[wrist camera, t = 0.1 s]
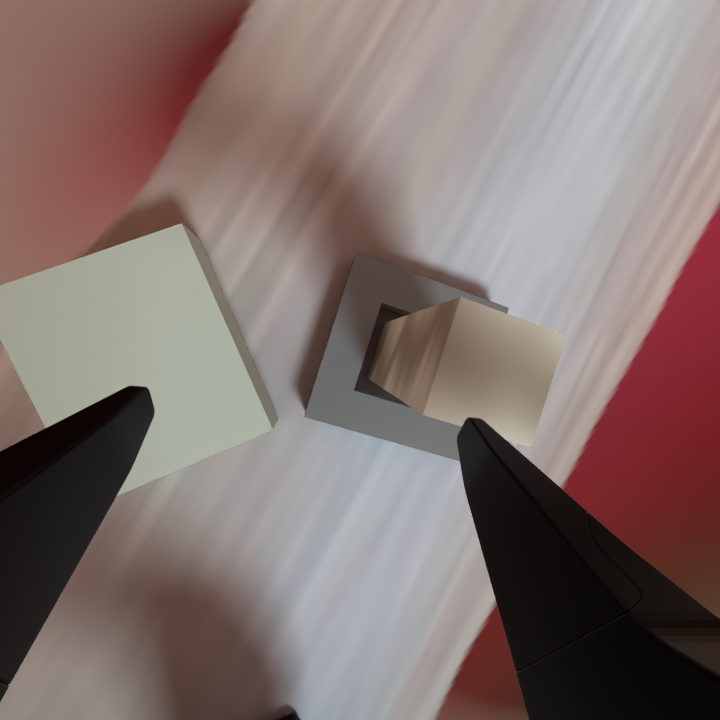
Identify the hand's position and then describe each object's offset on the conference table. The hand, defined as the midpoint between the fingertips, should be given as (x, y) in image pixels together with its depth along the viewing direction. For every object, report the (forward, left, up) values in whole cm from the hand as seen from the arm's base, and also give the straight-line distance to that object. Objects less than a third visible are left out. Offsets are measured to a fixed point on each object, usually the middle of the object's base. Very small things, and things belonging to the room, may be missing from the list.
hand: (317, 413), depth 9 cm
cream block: (-2, -6, -15) cm, 16 cm away
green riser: (+5, +10, -15) cm, 19 cm away
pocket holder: (-2, -6, -15) cm, 16 cm away
